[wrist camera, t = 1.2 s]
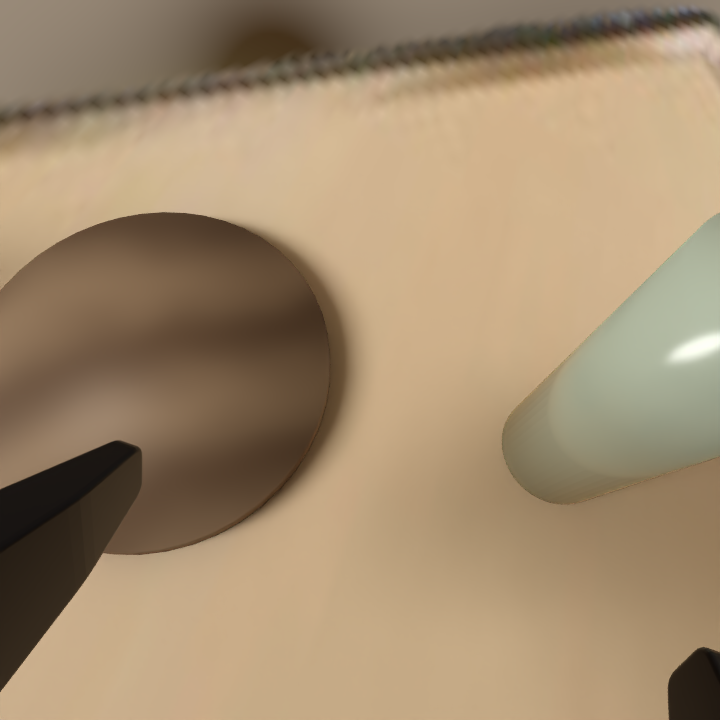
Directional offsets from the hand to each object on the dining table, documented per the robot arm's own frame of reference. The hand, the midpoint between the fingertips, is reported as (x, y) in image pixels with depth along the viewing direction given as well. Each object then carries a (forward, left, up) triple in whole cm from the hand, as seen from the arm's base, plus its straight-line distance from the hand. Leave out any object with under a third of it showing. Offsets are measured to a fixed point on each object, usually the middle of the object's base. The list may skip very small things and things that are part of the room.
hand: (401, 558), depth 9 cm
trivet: (+12, +5, -15) cm, 20 cm away
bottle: (+1, -10, -15) cm, 18 cm away
